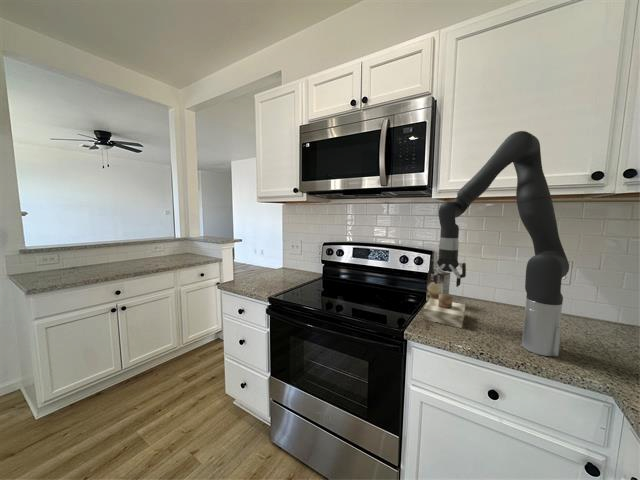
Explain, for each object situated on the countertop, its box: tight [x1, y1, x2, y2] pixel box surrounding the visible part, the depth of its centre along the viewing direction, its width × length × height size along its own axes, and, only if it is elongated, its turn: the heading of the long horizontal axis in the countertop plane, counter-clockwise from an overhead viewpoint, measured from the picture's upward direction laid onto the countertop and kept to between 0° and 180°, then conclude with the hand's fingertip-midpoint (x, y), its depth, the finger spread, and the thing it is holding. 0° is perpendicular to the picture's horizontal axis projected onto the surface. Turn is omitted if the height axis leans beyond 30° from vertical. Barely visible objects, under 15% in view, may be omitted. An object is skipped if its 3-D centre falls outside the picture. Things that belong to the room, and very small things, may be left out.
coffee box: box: [425, 269, 451, 302], centre depth 135 cm, size 9×6×16 cm
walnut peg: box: [438, 293, 453, 309], centre depth 116 cm, size 5×5×10 cm
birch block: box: [422, 298, 466, 329], centre depth 116 cm, size 15×16×5 cm
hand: (446, 284), depth 115 cm, fingers open, 8 cm apart
